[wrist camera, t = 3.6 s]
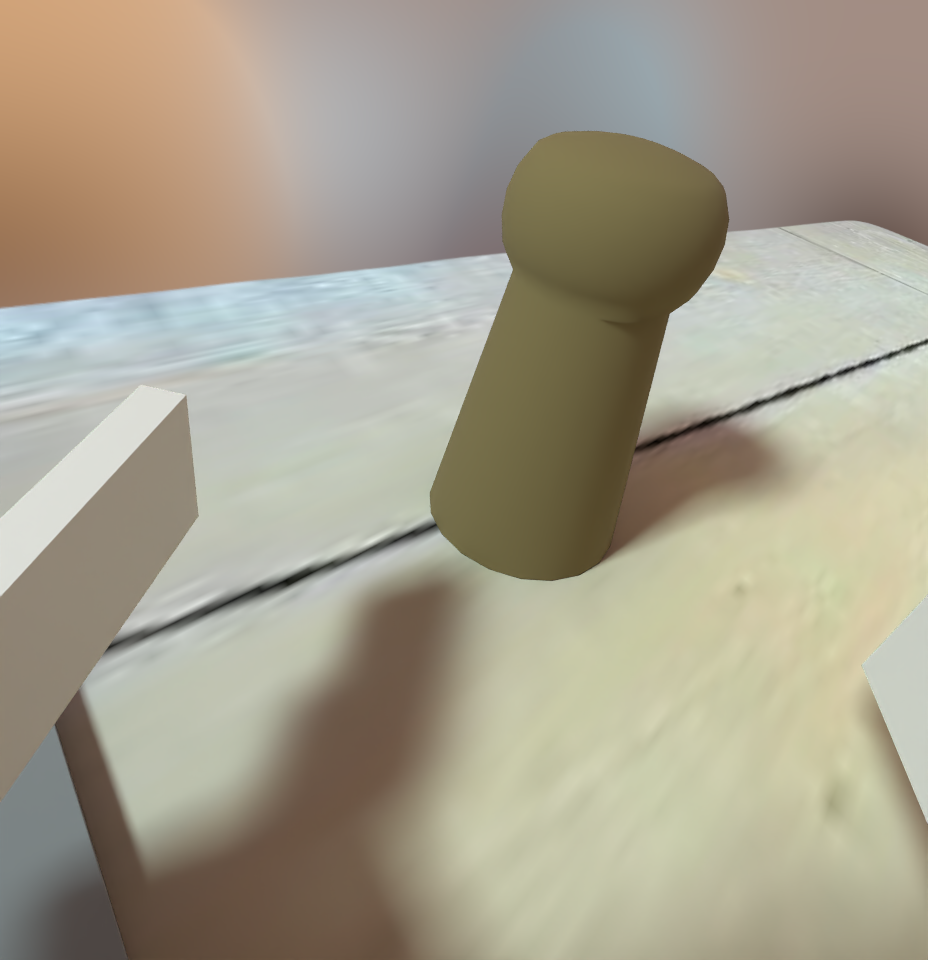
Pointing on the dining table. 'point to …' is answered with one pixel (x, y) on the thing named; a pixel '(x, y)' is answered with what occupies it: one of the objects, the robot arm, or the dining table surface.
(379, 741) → the dining table surface
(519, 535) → the cork
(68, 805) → the mat
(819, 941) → the dining table surface
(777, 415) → the dining table surface
